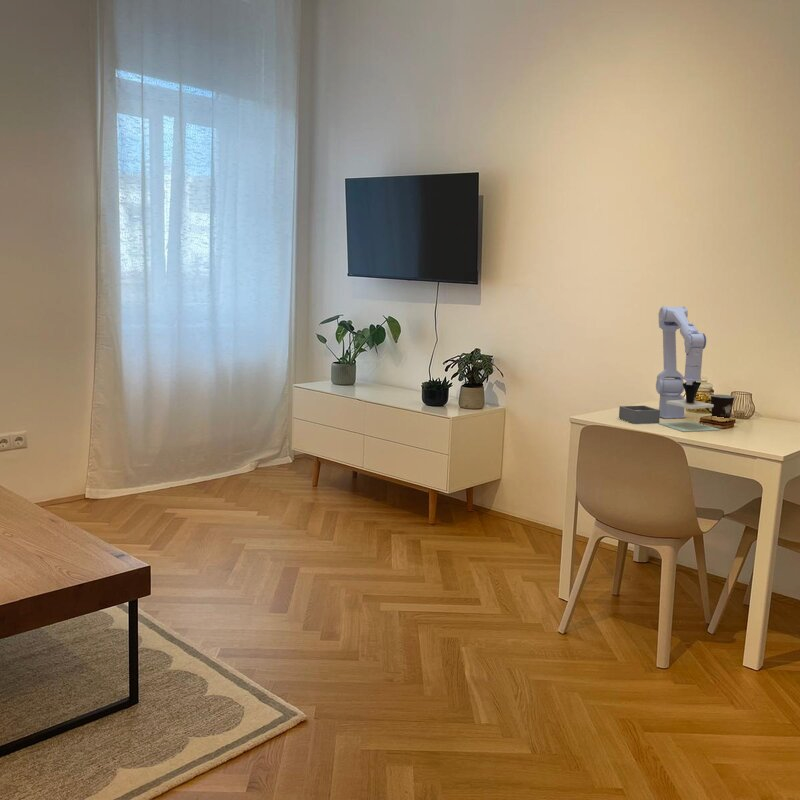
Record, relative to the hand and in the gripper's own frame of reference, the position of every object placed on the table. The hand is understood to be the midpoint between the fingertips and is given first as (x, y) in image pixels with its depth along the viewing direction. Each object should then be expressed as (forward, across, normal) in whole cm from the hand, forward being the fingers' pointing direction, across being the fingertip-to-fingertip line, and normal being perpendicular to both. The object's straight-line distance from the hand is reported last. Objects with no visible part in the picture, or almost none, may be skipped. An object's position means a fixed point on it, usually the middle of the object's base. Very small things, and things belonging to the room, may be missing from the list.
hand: (690, 401), depth 313 cm
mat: (+10, 0, 0) cm, 10 cm away
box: (+10, -3, -19) cm, 21 cm away
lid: (+1, 0, 0) cm, 1 cm away
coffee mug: (+10, -20, +8) cm, 23 cm away
